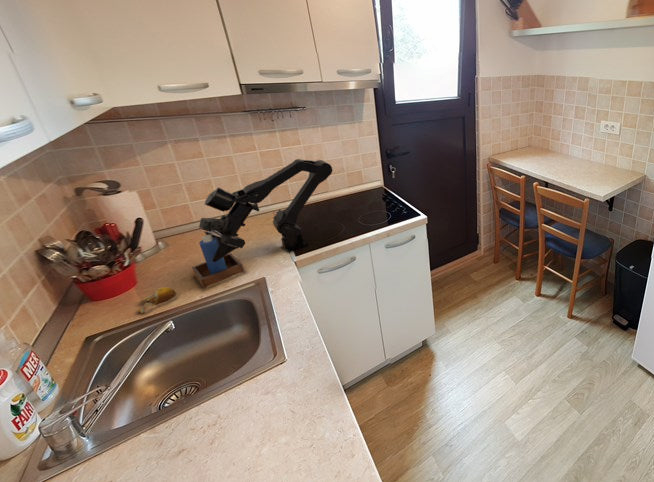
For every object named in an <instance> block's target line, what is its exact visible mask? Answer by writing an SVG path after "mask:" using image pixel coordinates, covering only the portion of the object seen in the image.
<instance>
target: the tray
mask: <svg viewBox="0 0 654 482" xmlns="http://www.w3.org/2000/svg"><path fill="white" fill-rule="evenodd" d="M224 260H225V263H226V266H227V269H225V270H223V271H220V272H218V273H215V274H212V275H211V274H210V272H209V269H208V266H207V263H206V261H204V262H202V263H199V264H197V265H194V266H191V270H192V272H193V274H194V276H195V278H196V279H197V280H198V282H199V283H200V284H201V286H202V287H203V288H208V287H209V286H211V285H214V284H217V283H219V282H221V281H224V280H226V279H229V278H231V277H233V276H236V275H239V274H241V273H243V272H245V269H244V266H243V263H242V262H240V260H239V259H238V258H237V257H236V256H235V255H233V254H232V252H230V253H228V254H227V255H225V256H224Z"/></svg>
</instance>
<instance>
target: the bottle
mask: <svg viewBox="0 0 654 482" xmlns="http://www.w3.org/2000/svg"><path fill="white" fill-rule="evenodd" d="M199 247H200V249H201V252H202V255H203V257H204V260H205V261H204V262H206V263H207V266H208V269H209V272H210V274H211V275H212V274H215V273H218V272H220V271H223V270H225V269H227V266H226V263H225V260H224V257H222V258H221V259H219V260H218V261H216V262H213V261H212V259H213V257H214V255H215V253H216V251H217V249H218V247H219V244H218V239H217V238H216V237H212V235H206V234H205V235H203V236H202V237H201V240H200V241H199Z"/></svg>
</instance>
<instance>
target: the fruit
mask: <svg viewBox="0 0 654 482" xmlns="http://www.w3.org/2000/svg"><path fill="white" fill-rule="evenodd" d="M175 296H176V291H175V290H174V289H173V288H171V287H159V288H158V289H157V290H156V291H154V292H152V294H149V295H148V296H146V297H145V298H144V299H142V301H144V300H145V301H144V303H145V304H144V305H143V304H142V303H141V305H143V306H146V307H153V306H155V305H160V304H163V303H166V302H168V301H170V300H171V299H173V298H174V297H175ZM144 308H145V307H142V309H139V313H141V314H142V313H145V312H146V310H145V309H144Z"/></svg>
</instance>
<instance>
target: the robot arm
mask: <svg viewBox="0 0 654 482" xmlns="http://www.w3.org/2000/svg"><path fill="white" fill-rule="evenodd" d="M301 172H306V173H308V177H307V179H306V180H305V182H304V183H303V185H302V186H301V187H300V188H299V191H298V192H296V194H295V196H294V198H293V199H292V201H291V202H290V203H289V205H288V206H287V207H286V208H285V209H283V210H281V209H278V211H277V212H276V214H275V215H274V216H273V217H272V219H273V221H272V225H273V228H274V229H275V230H276V231H277V232H278V234H280V235H281V238H280V241H281V245H282V248H283V249H285V250H286V251H288V252H293V251H295V250H297V249H300V248H302V247H305V246H306V243H305V242H304V239H303V234H302V229H301V228H300V226H299V225H298V224H297V222H298V221H297V220H298V216H299V214H300V212H301V211H302V209H303V208H304V206H305V205H306V204H307V202H308V201H309V199H311V196H312V195H313V193H314V192H315V190H316V189H317V188H318V186H319V185H320V184H321V183H323V182H325V181H326V180H327V179H328V178H329V177H330V176H331V175H332V173H333V167H332V165H331V164H330V163H329V162H327V161H325V160H323V159H317V160H309V159H308V160H307V159H300V158H296V159H295V160H294V161H292V162H291V163H289V164H287V165H285V166H284V167H283V168H281V169H279V170H278V171H276V172H275V173H273V174H272V175H270V176H268V177H266V178H263V179H261V180H258V181H255V182H252V183H250V184H247V185H246V186H244V187H243V188H242V189H239V190H236V191H234V192H232V193H231V192H229V191H226V190H225V189H223V188H222V187H217V188H216V189H215V190H213V191H212V192H210V193H209V194H208V196H207V197H206V199H205V201H204V205H205V206H207V207H210V208H212V209H215V210H218V211H220V212H227V214H226V215H224V214H223V215H221V217H220V218H216V217H201V218H200V222H199V225H198V227H199V229H201V230H202V231H204V234H205V235H212V237H216V238H217V239H218V244H219V247H218V249H217V251H216V253H215V255H214V257H213V259H212V261H213V262H216V261H218V260H219V259H221V258H222V257H224V256H225V255H227V254H229V253H232V252H233V251H236V250H238V249H243V248H244V246H245V245H246V240H245V239H243V238H242V237H240V235H239V234H238V232H239V231H240V229H241V228H242V227H245V226H246V223H245V222H246V220H247V219H248V217H249V215H250V214H251V213H252V211H255V212H260V208H259V203H262V202H263V201H264V200H265V199H266V198H267V197H268V196H269V195H270V194H271V192H272V191H274V189H276V188H278V187H279V186H281V185H282V184H284V183H286V182H287V181H288V180H290V179H292V178H293V177H295V176H296V175H298V174H299V173H301Z"/></svg>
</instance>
